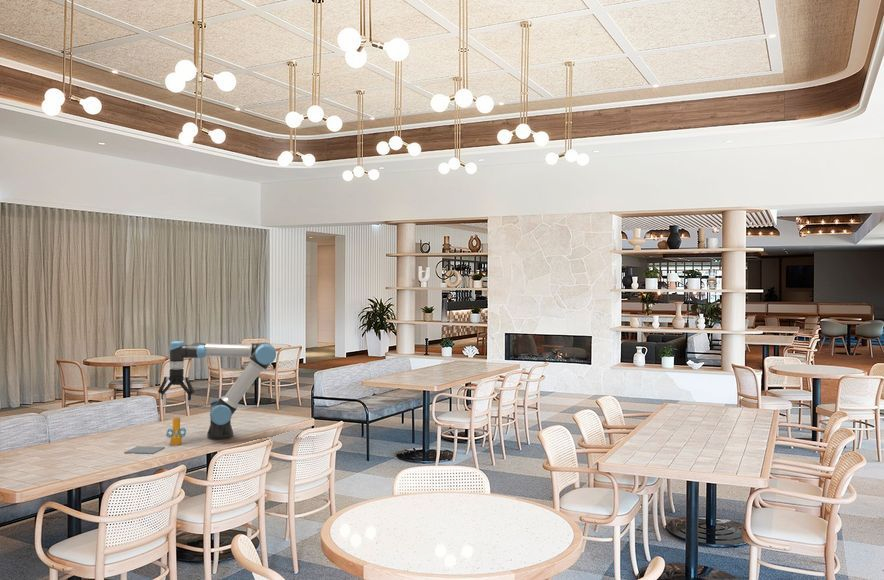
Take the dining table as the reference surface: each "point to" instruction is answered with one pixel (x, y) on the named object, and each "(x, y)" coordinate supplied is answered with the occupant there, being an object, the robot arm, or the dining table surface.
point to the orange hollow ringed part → (176, 432)
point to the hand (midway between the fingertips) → (176, 405)
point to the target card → (144, 450)
